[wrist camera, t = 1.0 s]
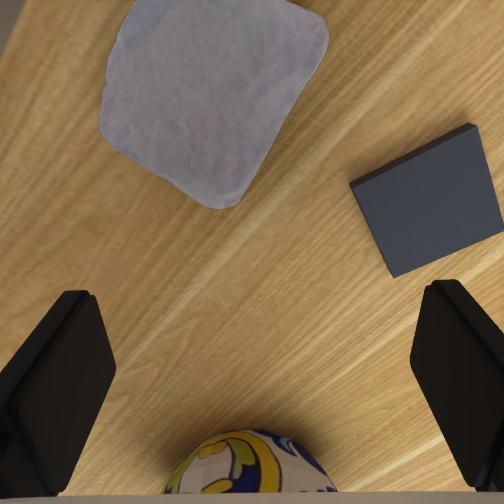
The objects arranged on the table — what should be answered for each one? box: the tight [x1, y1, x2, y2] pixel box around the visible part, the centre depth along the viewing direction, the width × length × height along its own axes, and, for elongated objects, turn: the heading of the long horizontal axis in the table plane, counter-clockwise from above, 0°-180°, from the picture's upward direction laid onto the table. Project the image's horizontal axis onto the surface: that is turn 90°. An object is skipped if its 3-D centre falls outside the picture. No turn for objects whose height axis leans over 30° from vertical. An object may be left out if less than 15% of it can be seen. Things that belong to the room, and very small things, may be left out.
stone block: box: [98, 0, 329, 209], centre depth 21 cm, size 12×5×10 cm
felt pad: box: [349, 123, 504, 278], centre depth 25 cm, size 8×8×1 cm
